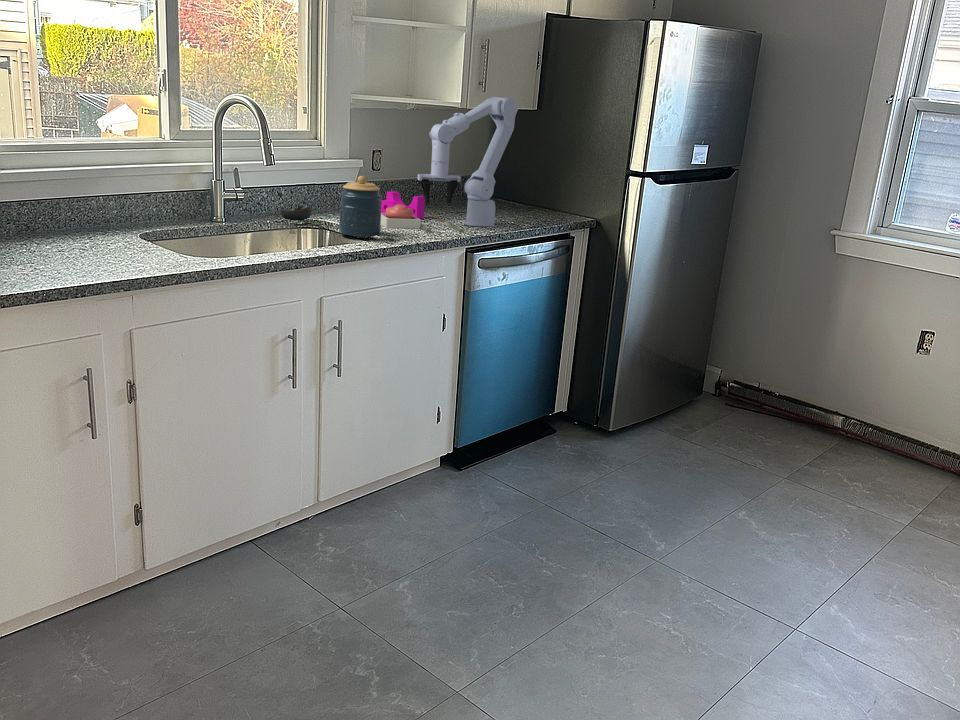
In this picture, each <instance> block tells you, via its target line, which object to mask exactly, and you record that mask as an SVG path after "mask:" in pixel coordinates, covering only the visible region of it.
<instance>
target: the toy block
mask: <svg viewBox="0 0 960 720" xmlns="http://www.w3.org/2000/svg"><path fill="white" fill-rule="evenodd" d="M425 203H426V202H425V197H424V195H417V196H415V195H414V196H413V198H412V201H411V203H410V204H409V205H408V206H407V205H406V204H405V203H404V202H403V200H402V198H401V193H400V192H399V191H393V190H392V191H386V199H384V200H382V199H381V204H380V205H381V207H382V209H381V214H386V208H388V207H394V206H395V205H399V204H400V205H404V206H405V207H406V208H409V209H413V216H415V217H417V218H419V219H424V217H425V206H426V205H425Z"/></svg>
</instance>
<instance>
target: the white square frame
mask: <svg viewBox="0 0 960 720" xmlns="http://www.w3.org/2000/svg"><path fill="white" fill-rule="evenodd" d="M421 220H422V218H417V217H415V216H413V219H390V218H387V217H386V214H383V213H381V226H382V227H384V228H386V229H415V230H418V229H421V228H420V227H421V224H422V221H421Z"/></svg>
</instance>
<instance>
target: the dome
mask: <svg viewBox="0 0 960 720" xmlns="http://www.w3.org/2000/svg"><path fill="white" fill-rule="evenodd" d="M386 217H387V218H390V219H413V209H409V208H406V207H405V206H404V205H400V204H399V205H395V206H394V207H388V208H386Z"/></svg>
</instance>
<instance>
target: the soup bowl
mask: <svg viewBox="0 0 960 720" xmlns="http://www.w3.org/2000/svg"><path fill="white" fill-rule="evenodd" d="M297 206H298V208H297V209H296V210H294V211H290V210H282V209H281V207H279V212H280V214H281V218H285V219H290V220H304V219H307V218H311V215H312V209H313V208H312V207H310V206H307V205H305V206H304V205H303V206H301V205H297ZM290 224H295V223H290ZM308 224H310V225H312V224H311V223H304V224H295V225H294V226H309V225H308Z"/></svg>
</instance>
